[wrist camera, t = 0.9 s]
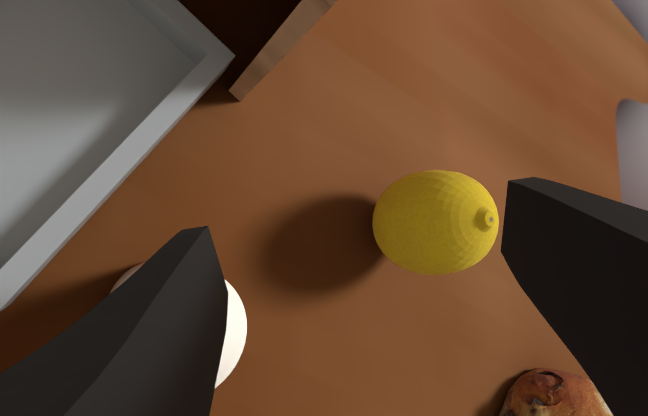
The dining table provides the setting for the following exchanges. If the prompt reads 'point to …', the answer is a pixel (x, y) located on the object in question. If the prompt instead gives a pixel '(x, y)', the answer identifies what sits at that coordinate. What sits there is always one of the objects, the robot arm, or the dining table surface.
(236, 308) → the beige rounded lump
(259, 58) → the counter shelf
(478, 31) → the dining table surface
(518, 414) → the bread roll
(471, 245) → the lemon
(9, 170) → the tray
